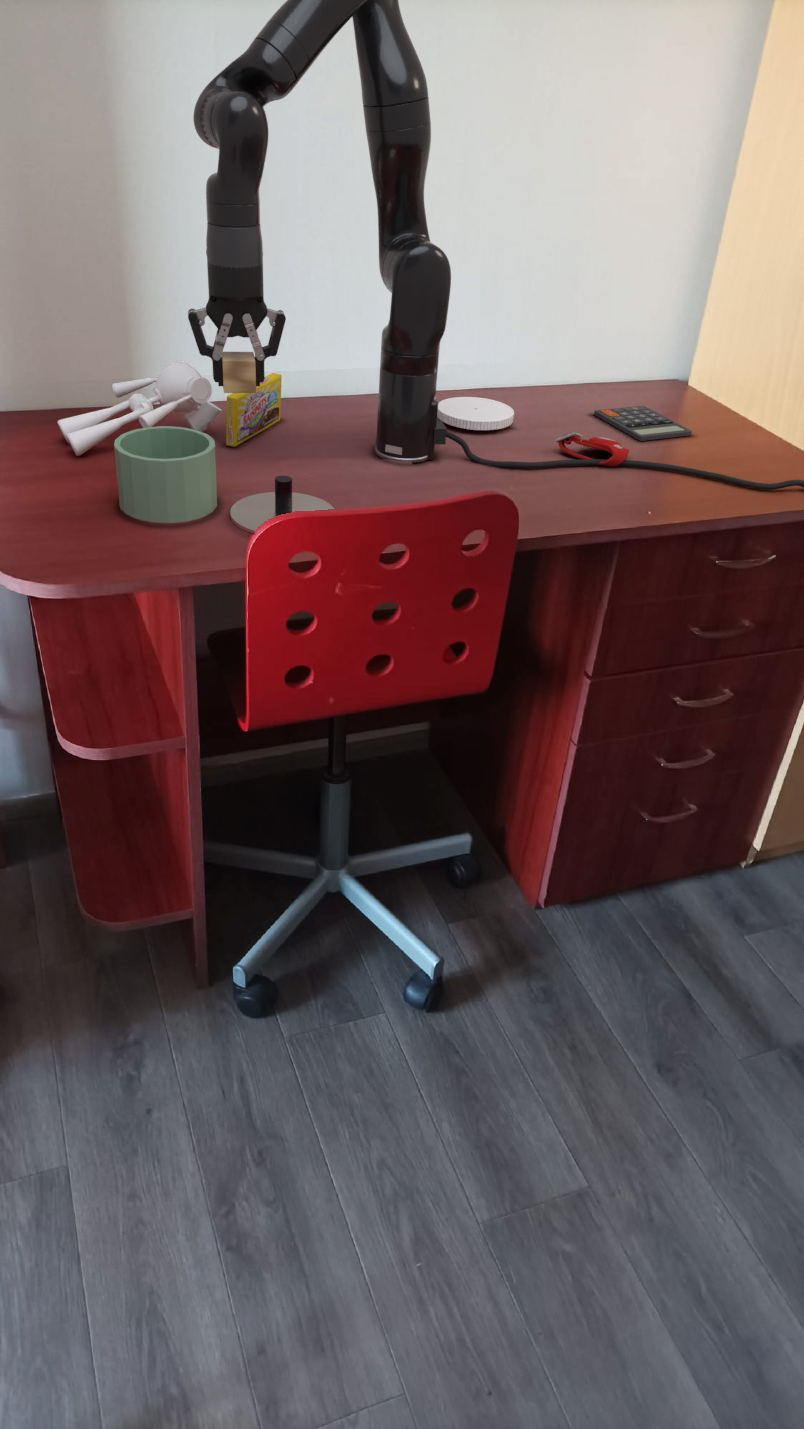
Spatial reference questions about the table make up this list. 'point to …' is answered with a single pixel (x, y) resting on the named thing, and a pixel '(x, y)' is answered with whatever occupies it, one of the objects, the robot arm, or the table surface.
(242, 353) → the block
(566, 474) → the table surface
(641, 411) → the calculator
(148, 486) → the tin
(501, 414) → the plastic lid
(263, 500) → the lid
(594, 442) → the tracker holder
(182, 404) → the toy robot
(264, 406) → the candy box
